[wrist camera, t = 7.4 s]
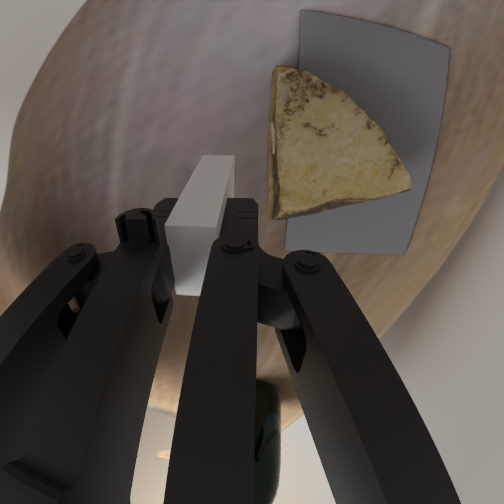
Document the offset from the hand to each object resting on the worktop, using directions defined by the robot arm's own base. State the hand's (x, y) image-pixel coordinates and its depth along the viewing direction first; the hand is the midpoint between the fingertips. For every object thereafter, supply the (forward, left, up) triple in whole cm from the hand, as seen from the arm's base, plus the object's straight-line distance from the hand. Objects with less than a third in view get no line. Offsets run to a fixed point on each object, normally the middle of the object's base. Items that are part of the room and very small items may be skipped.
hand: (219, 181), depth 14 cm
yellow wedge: (+2, 0, -6) cm, 6 cm away
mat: (+10, 0, -8) cm, 13 cm away
